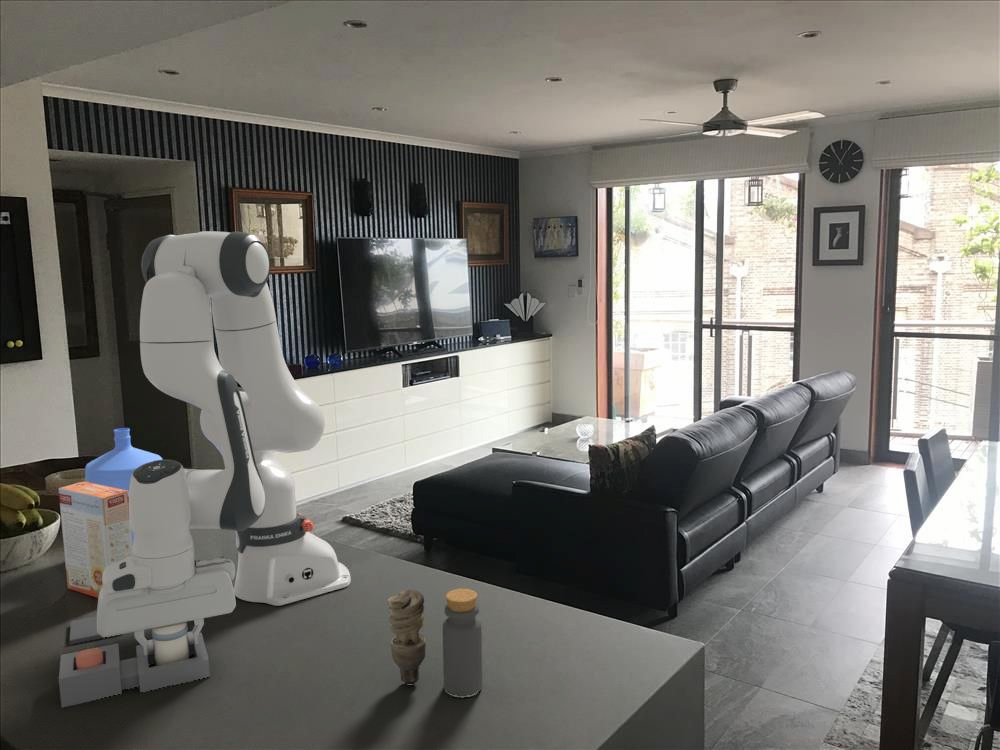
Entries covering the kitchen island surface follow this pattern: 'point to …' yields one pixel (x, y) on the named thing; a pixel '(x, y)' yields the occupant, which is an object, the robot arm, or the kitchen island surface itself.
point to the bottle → (462, 643)
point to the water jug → (118, 464)
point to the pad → (84, 630)
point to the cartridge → (170, 643)
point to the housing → (126, 673)
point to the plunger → (89, 658)
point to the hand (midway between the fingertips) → (171, 648)
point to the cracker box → (93, 532)
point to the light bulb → (407, 633)
